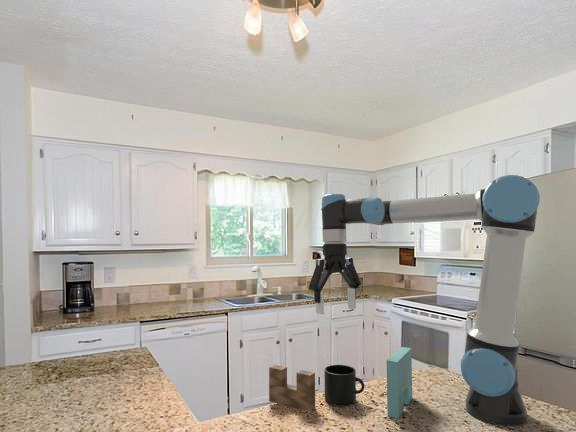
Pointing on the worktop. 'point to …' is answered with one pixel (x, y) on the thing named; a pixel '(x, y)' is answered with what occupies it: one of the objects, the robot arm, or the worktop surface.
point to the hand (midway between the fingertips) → (336, 311)
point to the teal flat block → (399, 381)
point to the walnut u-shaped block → (292, 388)
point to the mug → (341, 385)
